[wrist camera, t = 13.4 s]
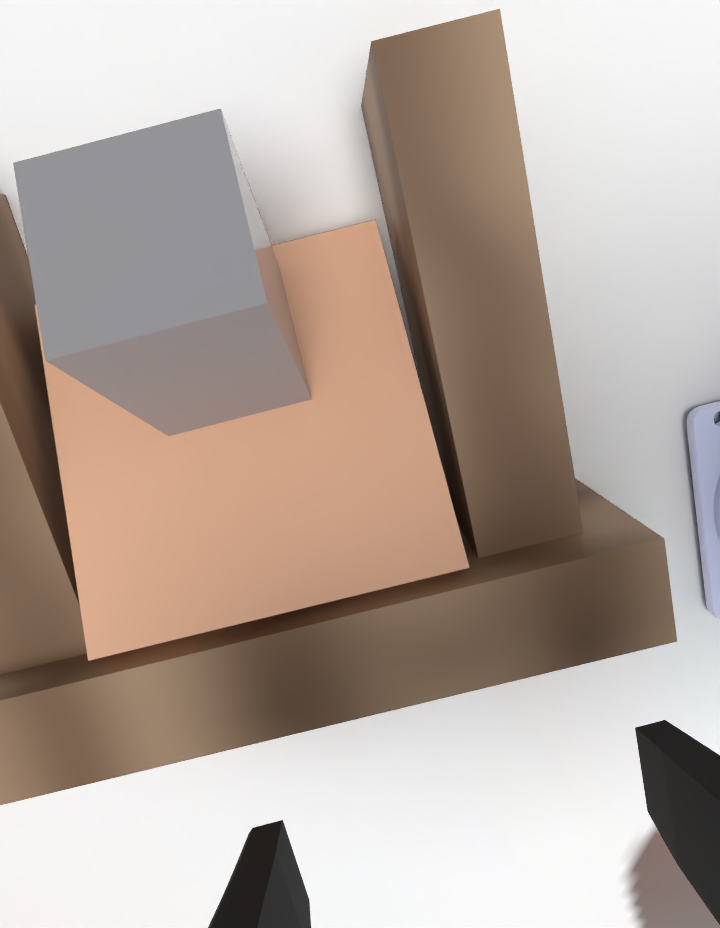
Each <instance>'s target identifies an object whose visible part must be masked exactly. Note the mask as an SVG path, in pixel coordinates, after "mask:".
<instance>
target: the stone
mask: <svg viewBox="0 0 720 928" xmlns="http://www.w3.org/2000/svg"><path fill="white" fill-rule="evenodd" d="M13 164H14V170H15V176H16V183H17V189H18V195H19V201H20V207H21V213H22V220H23V226H24V232H25V238H26V244H27V250H28V257H29V263H30V269H31V275H32V281H33V287H34V294H35V300H36V306H37V312H38V318H39V324H40V331H41V337H42V343H43V349H44V355H45V361H47V362H48V363H50V364H52V365H53V366H55V367H56V368H58V369H60V370H61V371H63V372H65V373H66V374H68V375H69V376H71V377H73V378H74V379H76V380H78V381H79V382H81V383H83V384H84V385H86V386H87V387H89V388H91V389H92V390H94V391H96V392H97V393H99V394H100V395H102V396H104V397H105V398H107V399H109V400H110V401H112V402H113V403H115V404H117V405H118V406H120V407H122V408H123V409H125V410H127V411H128V412H130V413H131V414H133V415H135V416H136V417H138V418H140V419H141V420H143V421H144V422H146V423H148V424H149V425H151V426H153V427H154V428H156V429H157V430H159V431H161V432H162V433H164V434H166V435H167V436H172V435H176V434H180V433H184V432H187V431H191V430H195V429H199V428H203V427H207V426H211V425H215V424H218V423H222V422H226V421H230V420H234V419H238V418H242V417H246V416H249V415H253V414H257V413H261V412H265V411H269V410H273V409H277V408H280V407H284V406H288V405H292V404H296V403H300V402H304V401H308V400H311V399H312V398H311V394H310V390H309V386H308V381H307V377H306V373H305V369H304V365H303V361H302V357H301V353H300V349H299V345H298V341H297V337H296V333H295V328H294V324H293V320H292V316H291V312H290V308H289V304H288V300H287V296H286V292H285V288H284V284H283V280H282V275H281V271H280V267H279V264H278V262H277V259H276V256H275V254H274V251H273V248H272V246H271V243H270V240H269V237H268V235H267V232H266V229H265V227H264V224H263V221H262V219H261V216H260V213H259V211H258V208H257V205H256V202H255V200H254V197H253V194H252V192H251V189H250V186H249V184H248V181H247V178H246V175H245V173H244V170H243V167H242V165H241V162H240V159H239V157H238V154H237V151H236V148H235V146H234V143H233V140H232V138H231V135H230V132H229V130H228V127H227V124H226V122H225V119H224V116H223V113H222V111H221V109H217V110H213V111H210V112H206V113H202V114H198V115H194V116H191V117H187V118H183V119H179V120H175V121H172V122H168V123H164V124H160V125H156V126H152V127H149V128H145V129H141V130H137V131H133V132H130V133H126V134H122V135H118V136H114V137H111V138H107V139H103V140H99V141H95V142H91V143H88V144H84V145H80V146H76V147H72V148H69V149H65V150H61V151H57V152H53V153H49V154H46V155H42V156H38V157H34V158H30V159H27V160H23V161H19V162H15V163H13Z"/></svg>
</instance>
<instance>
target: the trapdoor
mask: <svg viewBox="0 0 720 928" xmlns="http://www.w3.org/2000/svg"><path fill="white" fill-rule="evenodd" d="M272 248H273V251H274V254H275V256H276V259H277V262H278V264H279V267H280V271H281V275H282V280H283V284H284V288H285V292H286V296H287V300H288V304H289V308H290V312H291V316H292V320H293V324H294V328H295V333H296V337H297V341H298V345H299V349H300V353H301V357H302V361H303V365H304V369H305V373H306V377H307V381H308V386H309V390H310V394H311V398H312V399H311V400H308V401H304V402H300V403H296V404H292V405H288V406H284V407H280V408H277V409H273V410H269V411H265V412H261V413H257V414H253V415H249V416H246V417H242V418H238V419H234V420H230V421H226V422H222V423H218V424H215V425H211V426H207V427H203V428H199V429H195V430H191V431H187V432H184V433H180V434H176V435H172V436H167V435H166V434H164V433H162V432H161V431H159V430H157V429H156V428H154V427H153V426H151V425H149V424H148V423H146V422H144V421H143V420H141V419H140V418H138V417H136V416H135V415H133V414H131V413H130V412H128V411H127V410H125V409H123V408H122V407H120V406H118V405H117V404H115V403H113V402H112V401H110V400H109V399H107V398H105V397H104V396H102V395H100V394H99V393H97V392H96V391H94V390H92V389H91V388H89V387H87V386H86V385H84V384H83V383H81V382H79V381H78V380H76V379H74V378H73V377H71V376H69V375H68V374H66V373H65V372H63V371H61V370H60V369H58V368H56V367H55V366H53V365H52V364H50V363H48V362H47V361H45V355H44V349H43V343H42V337H41V331H40V324H39V318H38V312H37V306H36V305H35V311H36V318H37V324H38V331H39V338H40V344H41V351H42V357H43V364H44V371H45V377H46V384H47V391H48V397H49V404H50V411H51V417H52V424H53V431H54V437H55V444H56V450H57V457H58V464H59V470H60V477H61V484H62V490H63V497H64V504H65V510H66V517H67V524H68V530H69V537H70V544H71V550H72V557H73V563H74V570H75V577H76V583H77V590H78V597H79V603H80V610H81V617H82V623H83V630H84V637H85V643H86V650H87V656H88V661H89V660H94V659H98V658H102V657H106V656H110V655H114V654H118V653H122V652H126V651H130V650H135V649H139V648H143V647H147V646H151V645H155V644H159V643H163V642H167V641H171V640H175V639H180V638H184V637H188V636H192V635H196V634H200V633H204V632H208V631H212V630H216V629H221V628H225V627H229V626H233V625H237V624H241V623H245V622H249V621H253V620H257V619H261V618H266V617H270V616H274V615H278V614H282V613H286V612H290V611H294V610H298V609H302V608H307V607H311V606H315V605H319V604H323V603H327V602H331V601H335V600H339V599H343V598H347V597H352V596H356V595H360V594H364V593H368V592H372V591H376V590H380V589H384V588H388V587H393V586H397V585H401V584H405V583H409V582H413V581H417V580H421V579H425V578H429V577H433V576H438V575H442V574H446V573H450V572H454V571H458V570H462V569H466V568H469V564H468V560H467V556H466V553H465V549H464V545H463V542H462V538H461V534H460V531H459V527H458V523H457V519H456V516H455V512H454V508H453V505H452V501H451V497H450V493H449V490H448V486H447V482H446V479H445V475H444V471H443V468H442V464H441V460H440V456H439V453H438V449H437V445H436V442H435V438H434V434H433V430H432V427H431V423H430V419H429V416H428V412H427V408H426V405H425V401H424V397H423V393H422V390H421V386H420V382H419V379H418V375H417V371H416V367H415V364H414V360H413V356H412V353H411V349H410V345H409V341H408V338H407V334H406V330H405V327H404V323H403V319H402V316H401V312H400V308H399V304H398V301H397V297H396V293H395V290H394V286H393V282H392V278H391V275H390V271H389V267H388V264H387V260H386V256H385V253H384V249H383V245H382V241H381V238H380V234H379V230H378V227H377V223H376V220H372V221H368V222H364V223H360V224H356V225H352V226H348V227H344V228H340V229H336V230H332V231H328V232H324V233H320V234H316V235H312V236H308V237H304V238H300V239H296V240H292V241H288V242H284V243H280V244H276V245H272Z"/></svg>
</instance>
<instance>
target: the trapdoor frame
mask: <svg viewBox="0 0 720 928" xmlns="http://www.w3.org/2000/svg"><path fill="white" fill-rule="evenodd" d="M361 107H362V111H363V116H364V121H365V125H366V130H367V134H368V139H369V144H370V148H371V153H372V158H373V162H374V167H375V171H376V176H377V181H378V185H379V190H380V195H381V199H382V204H383V209H384V213H385V218H386V222H387V227H388V232H389V236H390V241H391V246H392V250H393V255H394V259H395V264H396V269H397V273H398V278H399V283H400V287H401V292H402V297H403V301H404V306H405V310H406V315H407V320H408V324H409V329H410V334H411V338H412V343H413V348H414V352H415V357H416V361H417V366H418V371H419V375H420V380H421V385H422V389H423V394H424V398H425V403H426V408H427V412H428V416H429V419H430V423H431V427H432V430H433V434H434V438H435V442H436V445H437V449H438V453H439V456H440V460H441V464H442V468H443V471H444V475H445V479H446V482H447V486H448V490H449V493H450V497H451V501H452V505H453V508H454V512H455V516H456V519H457V523H458V527H459V531H460V534H461V538H462V542H463V545H464V549H465V553H466V556H467V560H468V564H469V568H466V569H462V570H458V571H454V572H450V573H446V574H442V575H438V576H433V577H429V578H425V579H421V580H417V581H413V582H409V583H405V584H401V585H397V586H393V587H388V588H384V589H380V590H376V591H372V592H368V593H364V594H360V595H356V596H352V597H347V598H343V599H339V600H335V601H331V602H327V603H323V604H319V605H315V606H311V607H307V608H302V609H298V610H294V611H290V612H286V613H282V614H278V615H274V616H270V617H266V618H261V619H257V620H253V621H249V622H245V623H241V624H237V625H233V626H229V627H225V628H221V629H216V630H212V631H208V632H204V633H200V634H196V635H192V636H188V637H184V638H180V639H175V640H171V641H167V642H163V643H159V644H155V645H151V646H147V647H143V648H139V649H135V650H130V651H126V652H122V653H118V654H114V655H110V656H106V657H102V658H98V659H94V660H89V661H88V656H87V650H86V643H85V637H84V630H83V623H82V617H81V610H80V603H79V597H78V590H77V583H76V577H75V570H74V563H73V557H72V550H71V544H70V537H69V530H68V524H67V517H66V510H65V504H64V497H63V490H62V484H61V477H60V470H59V464H58V457H57V450H56V444H55V437H54V431H53V424H52V417H51V411H50V404H49V397H48V391H47V384H46V377H45V371H44V364H43V357H42V351H41V344H40V338H39V331H38V324H37V318H36V311H35V305H36V300H35V294H34V287H33V281H32V275H31V269H30V263H29V260H28V257H27V255H26V252H25V249H24V246H23V243H22V241H21V238H20V235H19V232H18V229H17V227H16V224H15V221H14V218H13V215H12V213H11V210H10V207H9V204H8V202H7V199H6V196H5V195H3V194H0V805H3V804H7V803H11V802H16V801H20V800H24V799H28V798H32V797H36V796H40V795H45V794H49V793H53V792H57V791H61V790H65V789H69V788H73V787H78V786H82V785H86V784H90V783H94V782H98V781H102V780H106V779H111V778H115V777H119V776H123V775H127V774H131V773H135V772H139V771H144V770H148V769H152V768H156V767H160V766H164V765H168V764H173V763H177V762H181V761H185V760H189V759H193V758H197V757H201V756H206V755H210V754H214V753H218V752H222V751H226V750H230V749H234V748H239V747H243V746H247V745H251V744H255V743H259V742H263V741H268V740H272V739H276V738H280V737H284V736H288V735H292V734H296V733H301V732H305V731H309V730H313V729H317V728H321V727H325V726H329V725H334V724H338V723H342V722H346V721H350V720H354V719H358V718H363V717H367V716H371V715H375V714H379V713H383V712H387V711H391V710H396V709H400V708H404V707H408V706H412V705H416V704H420V703H424V702H429V701H433V700H437V699H441V698H445V697H449V696H453V695H457V694H462V693H466V692H470V691H474V690H478V689H482V688H486V687H491V686H495V685H499V684H503V683H507V682H511V681H515V680H519V679H524V678H528V677H532V676H536V675H540V674H544V673H548V672H552V671H557V670H561V669H565V668H569V667H573V666H577V665H581V664H586V663H590V662H594V661H598V660H602V659H606V658H610V657H614V656H619V655H623V654H627V653H631V652H635V651H639V650H643V649H647V648H652V647H656V646H660V645H664V644H668V643H672V642H676V641H677V637H676V629H675V621H674V613H673V605H672V597H671V589H670V581H669V573H668V565H667V557H666V549H665V541H664V538H662V537H661V536H659V535H658V534H657V533H655V532H654V531H652V530H651V529H649V528H648V527H646V526H645V525H643V524H642V523H640V522H639V521H637V520H636V519H634V518H633V517H631V516H630V515H628V514H627V513H625V512H624V511H622V510H621V509H620V508H618V507H617V506H615V505H614V504H612V503H611V502H609V501H608V500H606V499H605V498H603V497H602V496H600V495H599V494H597V493H596V492H594V491H593V490H591V489H590V488H588V487H587V486H586V485H584V484H583V483H581V482H580V481H578V480H577V479H575V477H574V471H573V465H572V459H571V452H570V446H569V440H568V433H567V427H566V421H565V415H564V408H563V402H562V396H561V390H560V383H559V377H558V371H557V365H556V358H555V352H554V346H553V339H552V333H551V327H550V321H549V314H548V308H547V302H546V296H545V289H544V283H543V277H542V271H541V264H540V258H539V252H538V245H537V239H536V233H535V227H534V220H533V214H532V208H531V202H530V195H529V189H528V183H527V177H526V170H525V164H524V158H523V151H522V145H521V139H520V133H519V126H518V120H517V114H516V108H515V101H514V95H513V89H512V82H511V76H510V70H509V64H508V57H507V51H506V45H505V39H504V32H503V26H502V20H501V14H500V9H497V10H493V11H489V12H485V13H482V14H478V15H474V16H470V17H466V18H462V19H458V20H454V21H450V22H446V23H442V24H438V25H434V26H430V27H426V28H422V29H418V30H414V31H410V32H406V33H403V34H399V35H395V36H391V37H387V38H383V39H379V40H375V41H371V47H370V53H369V60H368V66H367V73H366V79H365V85H364V92H363V98H362V104H361Z"/></svg>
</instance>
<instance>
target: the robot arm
mask: <svg viewBox="0 0 720 928" xmlns="http://www.w3.org/2000/svg"><path fill="white" fill-rule="evenodd" d="M719 411H720V401H718V402H714V403H710V404H706V405H702V406H698V407H696V408H694V409H693V410H692V411H691V412H690V413H689V415H688V417H687V423H686V425H687V434H688V443H689V452H690V461H691V470H692V479H693V488H694V498H695V507H696V516H697V525H698V534H699V543H700V552H701V561H702V571H703V580H704V589H705V598H706V606H707V609H708V611H709V612H710V613H712V614H713V615H714V616H715V617H717V618H720V421H719V422H718V423H716V424H715V423H714V416H715V415H716V413H717V412H719ZM635 730H636V736H637V743H638V750H639V756H640V763H641V770H642V776H643V783H644V790H645V796H646V803H647V810H648V813H649V814H650V816H651V818H652V820H653V822H654V824H655V825H656V827H657V829H658V831H659V833H660V834H661V836H662V838H663V840H664V842H665V843H666V845H667V847H668V849H669V850H670V852H671V854H672V856H673V857H674V859H675V861H676V862H677V864H678V866H679V867H680V869H681V870H682V872H683V873H684V875H685V876H686V877H687V879H688V880H689V882H690V883H691V885H692V886H693V887H694V889H695V890H696V892H697V893H698V895H699V896H700V897H701V899H702V900H703V902H704V903H705V904H706V906H707V907H708V909H709V910H710V912H711V913H712V914H713V916H714V917H715V919H716V920H717V921H718V923H719V924H720V755H718V754H717V753H715V752H714V751H712V750H711V749H709V748H707V747H706V746H704V745H703V744H701V743H700V742H698V741H697V740H695V739H694V738H692V737H691V736H689V735H687V734H686V733H684V732H683V731H681V730H680V729H678V728H677V727H675V726H673V725H672V724H670V723H669V722H667V721H666V720H663V721H659V722H656V723H652V724H648V725H644V726H640V727H636V728H635ZM208 928H311V920H310V905H309V898H308V895H307V892H306V889H305V886H304V883H303V880H302V877H301V874H300V871H299V868H298V865H297V862H296V859H295V856H294V853H293V850H292V847H291V844H290V841H289V838H288V835H287V832H286V829H285V826H284V823H283V820H281V821H277V822H274V823H270V824H266V825H262V826H258V827H255V828H252V830H251V831H250V833H249V835H248V837H247V840H246V842H245V845H244V847H243V849H242V852H241V854H240V857H239V859H238V862H237V864H236V866H235V869H234V871H233V874H232V876H231V878H230V881H229V883H228V885H227V887H226V890H225V892H224V894H223V897H222V899H221V901H220V903H219V905H218V908H217V910H216V912H215V914H214V916H213V918H212V920H211V923H210V925H209V927H208Z"/></svg>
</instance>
